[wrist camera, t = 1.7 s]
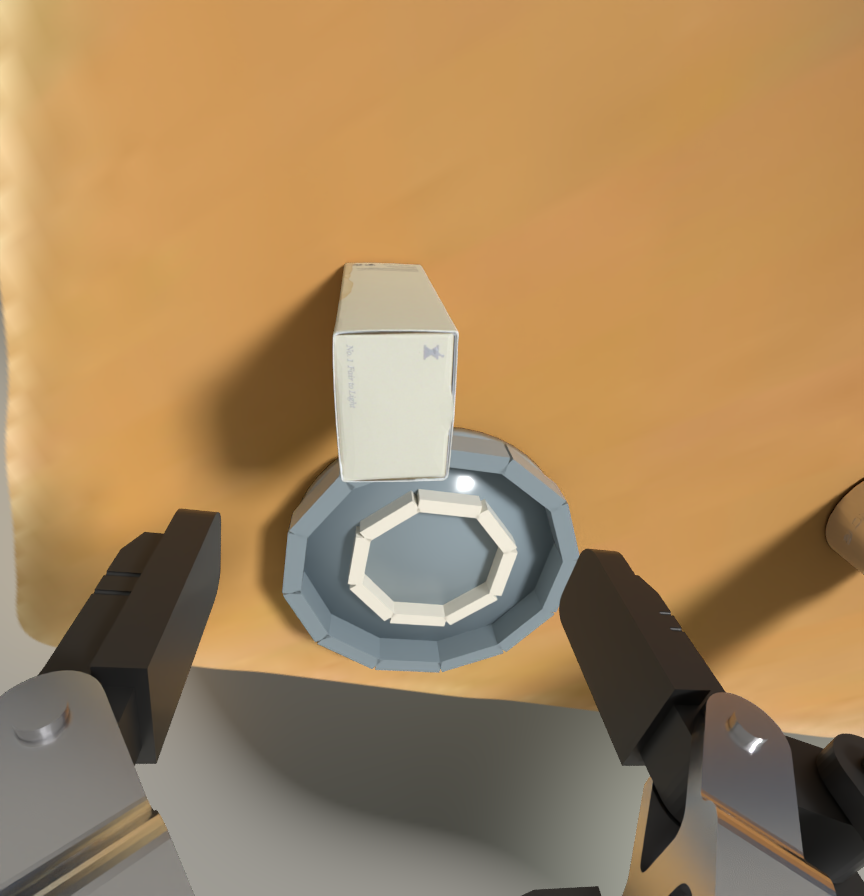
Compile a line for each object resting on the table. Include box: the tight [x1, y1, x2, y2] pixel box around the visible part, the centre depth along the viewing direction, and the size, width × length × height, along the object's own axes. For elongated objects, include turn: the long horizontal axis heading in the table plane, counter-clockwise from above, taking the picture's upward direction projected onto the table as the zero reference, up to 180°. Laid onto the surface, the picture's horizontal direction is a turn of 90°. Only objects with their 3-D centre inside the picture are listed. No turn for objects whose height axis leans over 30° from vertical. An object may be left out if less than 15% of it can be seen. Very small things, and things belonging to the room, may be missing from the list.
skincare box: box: [333, 263, 459, 482], centre depth 23 cm, size 6×4×12 cm
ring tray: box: [282, 427, 579, 672], centre depth 35 cm, size 20×20×3 cm
